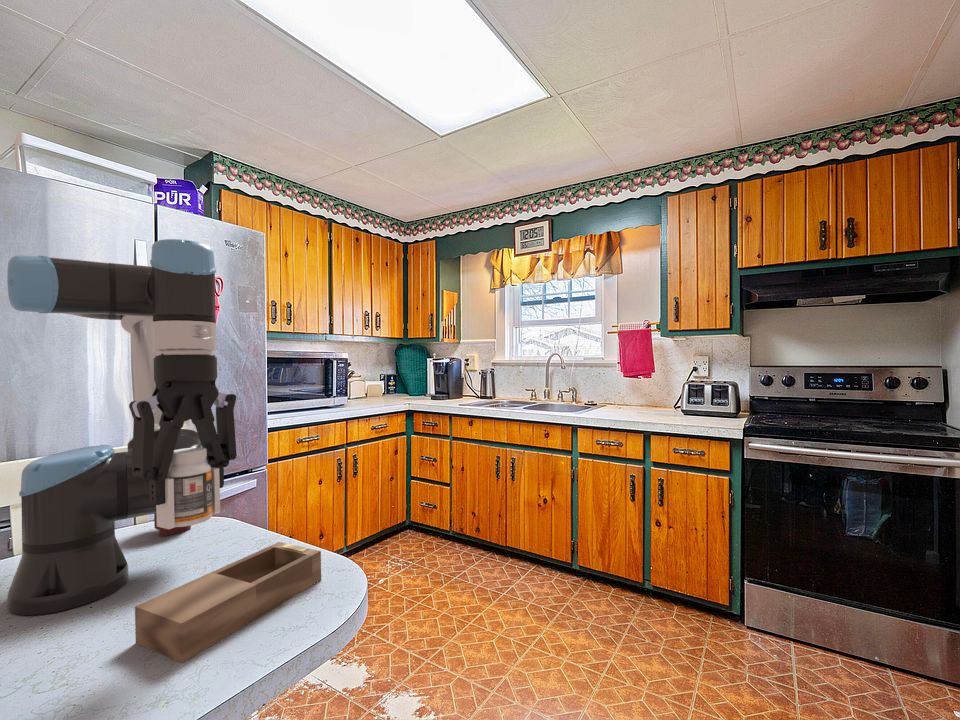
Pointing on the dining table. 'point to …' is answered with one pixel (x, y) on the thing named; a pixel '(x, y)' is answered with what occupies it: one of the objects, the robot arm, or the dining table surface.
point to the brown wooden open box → (224, 600)
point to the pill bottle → (191, 486)
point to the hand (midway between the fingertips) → (189, 519)
